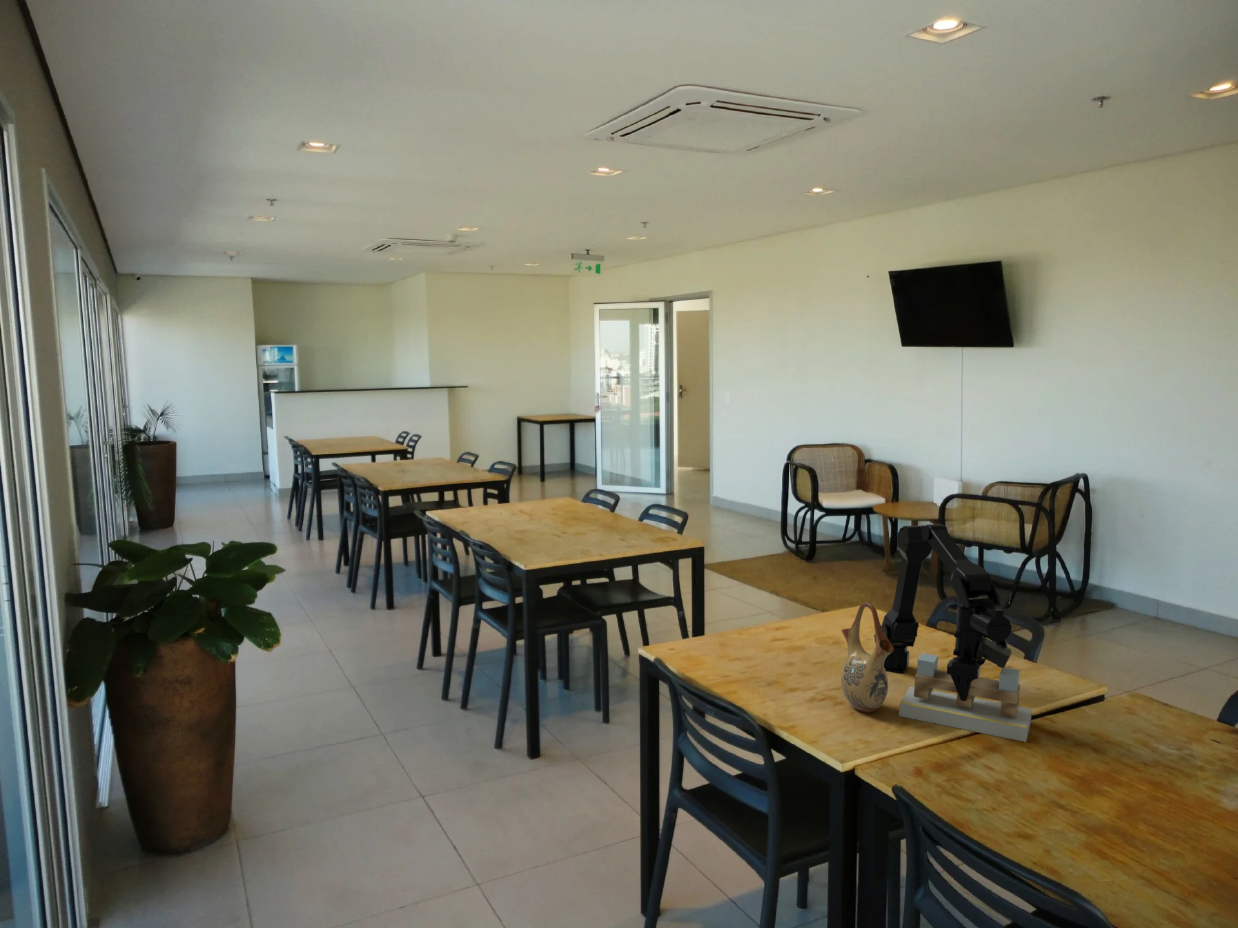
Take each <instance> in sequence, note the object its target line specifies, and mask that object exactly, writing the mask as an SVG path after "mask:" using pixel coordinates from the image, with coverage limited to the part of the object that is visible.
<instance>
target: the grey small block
mask: <svg viewBox="0 0 1238 928" xmlns="http://www.w3.org/2000/svg"><path fill="white" fill-rule="evenodd" d="M938 663H939V655H935V654H929V653H924V652H922V653H921V654H920V655H919V657H918V659H917V667H916V668H917V669H916V673H917V675H922V676H927V677H934V675H935V674H936V672H937V670H938V665H939V664H938Z"/></svg>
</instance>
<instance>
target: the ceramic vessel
mask: <svg viewBox="0 0 1238 928" xmlns="http://www.w3.org/2000/svg"><path fill="white" fill-rule="evenodd" d="M865 608H868V609H869V610H870V612H871V616H872V618H873V619H872V620H873V625H874V634H875V637H876V643H875V645H874V646H875V647H874V650H873V652H872V654H869V653H868V652H867V651H866V650H865V649H864V647H863V645H862V642H861V639H860V629H861V620H862V616H863V613H864V610H865ZM881 626H882V623H881V622H880V618H879V615H878V612H877V609H876V607H875V606H874V604H872V603H871V602H868V601H867V602H862V603H861V604H860V606H859V607H858V609H857V613H856V615H855V619H854V620H853V623H852V625H851V626H850V627H848V628H843V629H841V633H842V635H843V636H844V638H845V642H846V644H847V656H846V659H845V662H844V664H843V665H842V670H841V674H840V675H841V677H840V678H841V681H840V682H841V689H842V691H843V694H844V697H845V699H846V700H847V702H848V703H849V704H850V705H851V707H853V708H854V709H856V710H857V711H860V712H862V713H874V712H875V711H876V710H878V709H880V707H881V706H882V705H883V704H884V703H885V701H886V699H887V696H888V692H889V678H888V674H887V670H885V668H884V661H885V659H886V657H887V656H888V655H889V654H890V653H891V652H893V650H894V648H893V646H892V645H891V643H890V642H889V640H888V638H887V637H886V635H885V633H884V631H883V629H882V627H881Z"/></svg>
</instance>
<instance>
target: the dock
mask: <svg viewBox="0 0 1238 928" xmlns="http://www.w3.org/2000/svg"><path fill="white" fill-rule="evenodd" d="M914 688H915V686H909V688H908V689H907V691H906V692H905V694H904V695H903V697H902V699H901V700H900V702H899V711H898V717H901V716H902V717H903V718H908V719H911V720H912V719H913V720H916V719H917V720H918V721H920V722H925V723H926V722H927V723H932V724H935V723H936V725H941V726H946V727H950V728H954V729H955V728H956V729H960V728H961V730H966V731H970V732H976V733H979V734H980V733H981V734H985V735H990V736H995V737H998V738H1005V739H1008V740H1009V739H1010V740H1013V739H1014V741H1018V742H1023V741H1024V743H1027V739H1028V735H1029V731H1030V727H1031V723H1032V712H1033V711H1032V709H1033V708H1030V707H1024V706H1019V707H1018V710H1017V714H1016V717H1015V716H1010V715H1004V714H1001V702H999V701H998V702H996V701H992V700H988V699H982V698H981V699H980V698H976V697H975V699H974V701H973V704H972V706H971V708H969V707H964V706H959V705H956V701H957V694H955V693H951V692H950V693H949V692H945V691H944V692H943V691H938V690H934V689H933V691H932V693H931V695H930V696H929V698H928V699H923V698H918V697H914ZM917 720H916V721H917Z"/></svg>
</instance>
